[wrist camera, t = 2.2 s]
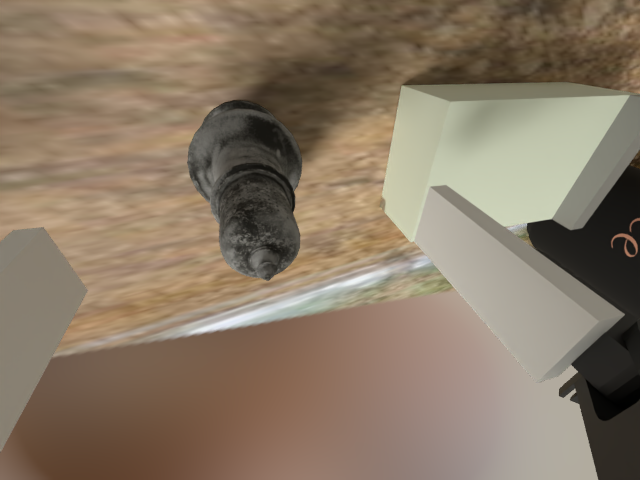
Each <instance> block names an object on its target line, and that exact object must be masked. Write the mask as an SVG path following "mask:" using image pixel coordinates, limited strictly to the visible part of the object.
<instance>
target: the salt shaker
mask: <svg viewBox="0 0 640 480" xmlns="http://www.w3.org/2000/svg"><path fill="white" fill-rule="evenodd" d="M187 163H188V168H189V173H190V177H191V179H192V181H193V183H194V185H195V187H196V189H197V191H198V192H199V193H200V194H201V195H202V196H203V197H204V198H205V199H206V201H208V202H209V203H210V205H211V211H212V213H213V215H214V217H215V219H216V221H217V222H218V223H219V224H220V229H219V243H220V249H221V252H222V255H223V257H224V259H225V261H226V263H227V264H228V265H229V266H230V267H231V268H232V269H234V270H236V271H237V272H239V273H241V274H243V275H246V276H249V277H255V278H262V279H264V280H267V281H269V280H270V279H271V278H272V277H273V276H274V275H276V274H278V273H280V272H282V271H283V270H285V269H286V268H287V267H288V266H289V265H290V264H291V263H292V262H293V260H294V259H295V258H296V256H297V254H298V251H299V248H300V233H299V229H298V226H297V223H296V220H295V218H294V215H293V211H294V208H295V194H294V191H295V189H296V187H297V186H298V183H299V180H300V177H301V171H302V159H301V154H300V149H299V146H298V144H297V143H296V141H295V139H294V137H293V135H292V134H291V132H290V131H289V130H288V129H287V128H286V127H285V126H284V125H283V124H282V123H281V122H279V121H278V120H277V119H276V118H275V117H274V116H273V115H272V114H271V113H270V112H269V111H268V110H266V109H265V108H263V107H261V106H260V105H258V104H254V103H251V102H248V101H231V102H227V103H223V104H221V105H220V106H218V107H216V108H215V109H213V110H212V111H211V112H210V113H209V114H208V115H207V117H206V118H205V119H204V121H203V123H202V126H201V127H200V128H199V129H198V130H197V132H196V133H195V135H194V137H193V139H192V142H191V144H190V146H189V152H188V162H187Z"/></svg>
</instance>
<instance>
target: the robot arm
mask: <svg viewBox="0 0 640 480" xmlns="http://www.w3.org/2000/svg"><path fill="white" fill-rule="evenodd" d="M414 242H415V243H416V244H417V245H418V246H419V248H420V249H421V250H422V251H423V252H424V253H425V255H426V256H427V257H428V258H429V259H430V260H431V261H432V263H433V264H434V265H435V266H436V267H437V268H438V270H439V271H440V272H441V273H442V274H443V275H444V277H445V278H446V279H447V280H448V281H449V282H450V283H451V285H452V286H453V287H454V288H455V289H456V290H457V292H458V293H459V294H460V295H461V296H462V297H463V299H464V300H465V301H466V302H467V303H468V304H469V305H470V306H471V308H472V309H473V310H474V311H475V312H476V314H477V315H478V316H479V317H480V318H481V319H482V321H483V322H484V323H485V324H486V325H487V326H488V327H489V329H490V330H491V331H492V332H493V333H494V334H495V336H496V337H497V338H498V339H499V340H500V341H501V342H502V344H503V345H504V346H505V347H506V348H507V349H508V351H509V352H510V353H511V354H512V355H513V356H514V358H515V359H516V360H517V361H518V362H519V363H520V365H521V366H522V367H523V368H524V369H525V370H526V371H527V373H528V374H529V375H530V376H531V377H532V378H533V380H534V381H535V382H536V383H538V382H542V381H545V380H548V379H551V378H555V377H558V376H559V375H560V374H561V373H563V371H565V370H566V369H567V368H568V367H569V366H570V365H572V366H573V367H574V368H575V369H576V370H577V371H578V373H576V374H575V375H574V376H573V377H572V378H571V379H570V380H569V381H567V382H566V383H565V384H564V385H563V386H562V387H561V388H560V389H559V396H560V397H563V398H564V397H565V396H566V395H567V394H569V393H570V392H571V391H572V390H574V389H576V393H575V394H574V395H573V396H572V397H571V399H570V400H571V401H573V402H576V403H578V404H580V409H581V412H582V416H583V420H584V424H585V428H586V432H587V436H588V440H589V444H590V448H591V452H592V456H593V460H594V464H595V468H596V472H597V476H598V480H640V318H637V317H635V316H634V315H632V314H631V313H629V312H628V311H626V310H625V309H623V308H622V307H621V306H619V305H618V304H616V303H615V302H614V301H612V300H611V299H609V298H608V297H607V296H605V295H604V294H602V293H601V292H600V291H598V290H597V289H595V288H594V287H593V286H591V285H590V284H588V283H587V282H586V281H584V280H583V279H581V278H580V277H576V276H575V274H574V273H573V272H572V271H570V270H569V269H567V268H566V267H562V264H560V263H559V262H557V261H556V260H555V259H553V258H552V257H550V256H549V255H548V254H546V253H544V252H542V251H540V250H538V249H536V248H533V247H531V246H530V245H528V244H527V243H526V242H524V241H523V240H522V239H520V238H519V237H517V236H516V235H515V234H513V233H512V232H511V231H509V230H508V229H506V228H505V227H504V226H502V225H501V224H499V223H498V222H497V221H495V220H494V219H493V218H491V217H490V216H488V215H487V214H486V213H484V212H483V211H482V210H480V209H479V208H477V207H476V206H475V205H473V204H472V203H471V202H469V201H468V200H466V199H465V198H464V197H462V196H461V195H460V194H458V193H457V192H455V191H454V190H453V189H451V188H450V187H448V186H447V185H441V186H431V187H429V191H428V194H427V198H426V201H425V205H424V208H423V212H422V215H421V219H420V222H419V226H418V229H417V233H416V236H415V240H414ZM87 291H88V290H87V288H86V287H85V286H84V284H83V283H82V281H81V280H80V279H79V277H78V276H77V274H76V273H75V271H74V270H73V269H72V267H71V266H70V264H69V263H68V261H67V260H66V259H65V257H64V256H63V254H62V253H61V251H60V250H59V249H58V247H57V246H56V244H55V243H54V241H53V240H52V239H51V237H50V236H49V234H48V233H47V231H46V230H45V229H44V227H41V228H32V229H22V230H13V231H12V232H11V233H10V234H9V235H7V236H6V237H5V238H4V239H3V240H2V241H1V242H0V452H1V450H2V448H3V446H4V445H5V443H6V441H7V439H8V437H9V435H10V434H11V432H12V430H13V428H14V426H15V424H16V422H17V420H18V419H19V417H20V415H21V413H22V411H23V409H24V408H25V406H26V404H27V402H28V400H29V398H30V396H31V394H32V393H33V391H34V389H35V387H36V385H37V383H38V382H39V380H40V378H41V376H42V374H43V372H44V370H45V369H46V367H47V365H48V363H49V361H50V359H51V358H52V356H53V354H54V352H55V350H56V348H57V347H58V345H59V343H60V341H61V339H62V337H63V335H64V334H65V332H66V330H67V328H68V326H69V324H70V322H71V321H72V319H73V317H74V315H75V313H76V311H77V310H78V308H79V306H80V304H81V302H82V300H83V298H84V297H85V295H86V293H87Z"/></svg>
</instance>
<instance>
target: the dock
mask: <svg viewBox="0 0 640 480" xmlns="http://www.w3.org/2000/svg"><path fill="white" fill-rule="evenodd" d="M639 150H640V94H637V93H631V92H625V91H619V90H613V89H607V88H601V87H595V86H589V85H583V84H577V83H571V82H541V83H492V84H442V85H402V86H401V92H400V97H399V103H398V108H397V114H396V120H395V125H394V131H393V136H392V142H391V148H390V153H389V159H388V164H387V170H386V176H385V181H384V187H383V192H382V198H381V204H380V207H381V209H382V210H383V211H384V212H385V213H386V214H387V215H388V217H389V218H390V219H391V220H392V221H393V222H394V224H395V225H396V226H397V227H398V228H399V229H400V230H401V232H402V233H403V234H404V235H405V236H406V237H407V239H408V240H409V241H410V242H414V240H415V236H416V233H417V229H418V226H419V222H420V219H421V215H422V212H423V208H424V205H425V201H426V198H427V194H428V191H429V187H431V186H441V185H447V186H448V187H450V188H451V189H453V190H454V191H455V192H457V193H458V194H460V195H461V196H462V197H464V198H465V199H466V200H468V201H469V202H471V203H472V204H473V205H475V206H476V207H477V208H479V209H480V210H482V211H483V212H484V213H486V214H487V215H488V216H490V217H491V218H493V219H494V220H495V221H497V222H498V223H499V224H501V225H502V226H504V227H506V226H512V225H518V224H524V223H530V222H537V221H543V220H549V219H552V220H554V221H556V222H558V223H559V224H561V225H563V226H564V227H566V228H568V229H569V230H574V229H580V228H583V227H584V225H585V224H586V222H587V221H588V220H589V218H590V217H591V216H592V214H593V213H594V211H595V210H596V209H597V207H598V206H599V205H600V203H601V202H602V201H603V199H604V198H605V196H606V195H607V194H608V192H609V191H610V190H611V188H612V187H613V185H614V184H615V183H616V181H617V180H618V179H619V177H620V176H621V174H622V173H623V172H624V170H625V169H626V168H627V166H628V165H629V164H630V162H631V161H632V159H633V158H634V157H635V155H636V154H637V153H638V151H639Z"/></svg>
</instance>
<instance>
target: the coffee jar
mask: <svg viewBox="0 0 640 480" xmlns="http://www.w3.org/2000/svg"><path fill="white" fill-rule="evenodd" d="M527 231H528V234H529V238H530V240H531V242H532V244H533V246H534V247H535V248H536V249H538V250H540V251H542V252H544V253H546V254H548V255H549V256H550V257H552V258H553V259H555V260H556V261H557V262H559V263H560V264H562V267H566V268H567V269H569V270H570V271H572V272H573V273H574V274H575V276H576V277H580V278H581V279H583V280H584V281H586V282H587V283H588V284H590V285H591V286H593V287H594V288H595V289H597V290H598V291H600V292H601V293H602V294H604V295H605V296H607V297H608V298H609V299H611V300H612V301H614V302H615V303H616V304H618V305H619V306H621V307H622V308H623V309H625V310H626V311H628V312H629V313H631V314H632V315H634V316H635V317H637V318H640V169H639V168H636V167H633V166H630V165H628V166H627V168H626V169H625V170H624V172H623V173H622V174H621V176H620V177H619V179H618V180H617V181H616V183H615V184H614V185H613V187H612V188H611V190H610V191H609V192H608V194H607V195H606V196H605V198H604V199H603V201H602V202H601V203H600V205H599V206H598V207H597V209H596V210H595V211H594V213H593V214H592V216H591V217H590V218H589V220H588V221H587V222H586V224H585V225H584V227H583V228H580V229H574V230H569V229H568V228H566V227H564V226H563V225H561V224H559V223H558V222H556V221H554V220H552V219H549V220H543V221H537V222H530V223H528V224H527Z"/></svg>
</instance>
